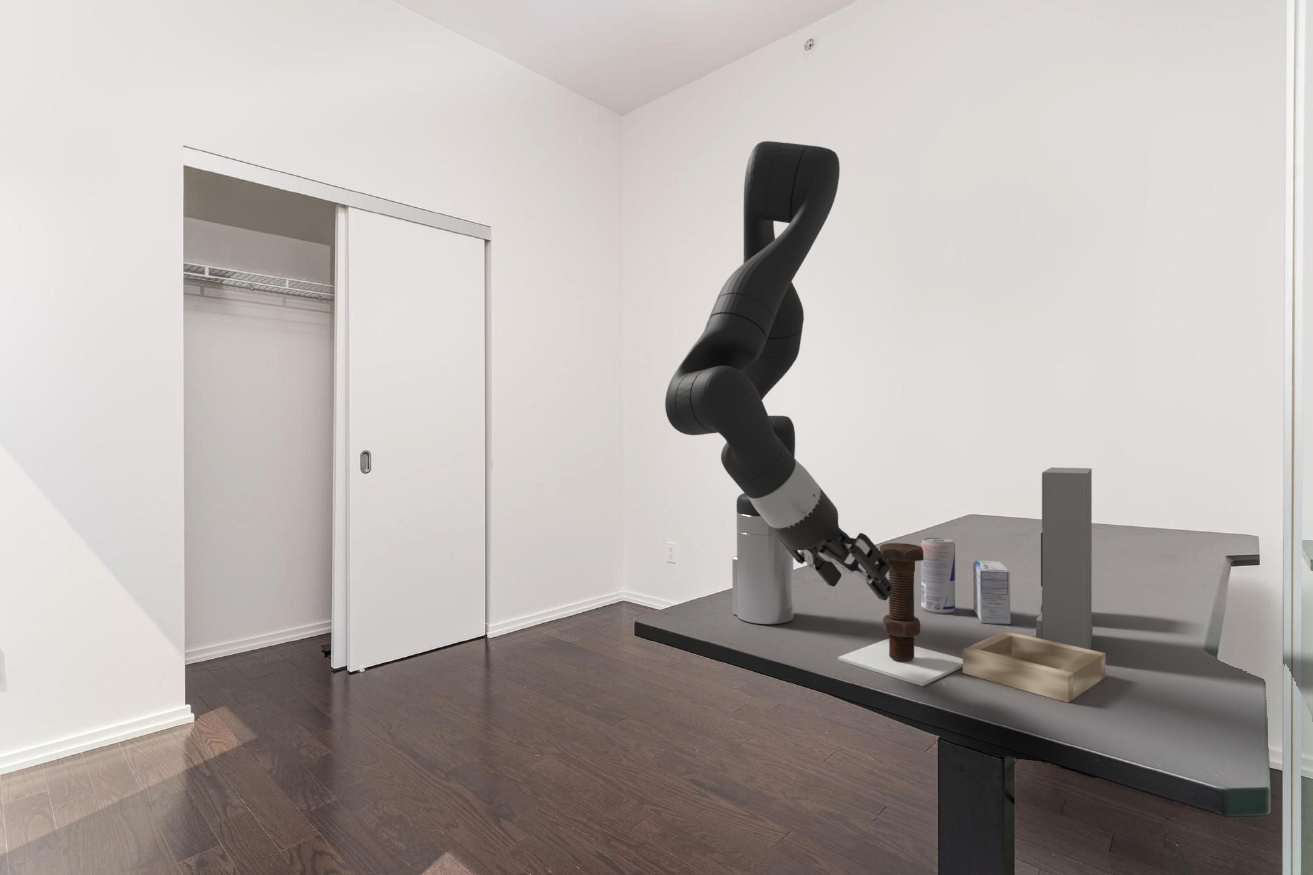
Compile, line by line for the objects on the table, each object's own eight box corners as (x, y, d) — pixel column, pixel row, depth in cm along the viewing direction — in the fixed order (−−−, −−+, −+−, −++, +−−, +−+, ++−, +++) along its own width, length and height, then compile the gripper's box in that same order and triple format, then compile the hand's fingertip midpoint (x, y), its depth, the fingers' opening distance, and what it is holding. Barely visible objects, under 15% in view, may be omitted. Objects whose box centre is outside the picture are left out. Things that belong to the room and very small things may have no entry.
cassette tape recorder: (1044, 629, 102) (1044, 467, 102) (1092, 636, 99) (1092, 468, 98) (1035, 654, 91) (1035, 472, 91) (1088, 663, 87) (1088, 473, 87)
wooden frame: (962, 672, 84) (962, 649, 84) (1004, 652, 92) (1004, 630, 92) (1068, 702, 75) (1068, 676, 75) (1105, 677, 82) (1105, 653, 82)
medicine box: (1010, 625, 104) (1010, 570, 104) (979, 623, 106) (979, 569, 106) (1002, 612, 112) (1002, 561, 112) (972, 610, 113) (972, 559, 113)
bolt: (926, 667, 85) (925, 550, 85) (884, 665, 86) (884, 549, 86) (917, 652, 90) (917, 542, 90) (879, 650, 91) (878, 542, 91)
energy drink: (957, 608, 114) (957, 538, 114) (952, 615, 110) (952, 543, 110) (924, 604, 117) (924, 536, 117) (918, 611, 113) (918, 540, 113)
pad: (838, 659, 89) (838, 656, 89) (887, 641, 97) (887, 638, 97) (922, 686, 80) (922, 682, 80) (969, 663, 87) (969, 660, 87)
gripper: (852, 482, 73) (922, 574, 79) (769, 475, 86) (835, 555, 92) (816, 534, 71) (891, 625, 77) (736, 519, 83) (806, 598, 89)
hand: (860, 587), depth 84 cm, fingers open, 8 cm apart
